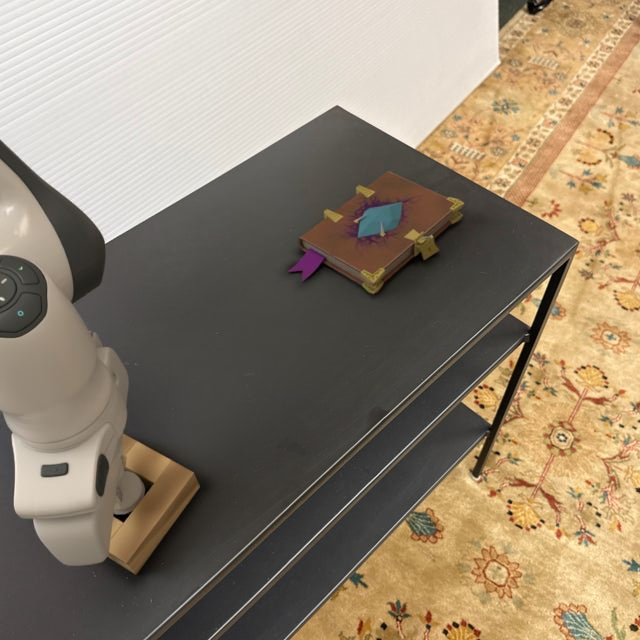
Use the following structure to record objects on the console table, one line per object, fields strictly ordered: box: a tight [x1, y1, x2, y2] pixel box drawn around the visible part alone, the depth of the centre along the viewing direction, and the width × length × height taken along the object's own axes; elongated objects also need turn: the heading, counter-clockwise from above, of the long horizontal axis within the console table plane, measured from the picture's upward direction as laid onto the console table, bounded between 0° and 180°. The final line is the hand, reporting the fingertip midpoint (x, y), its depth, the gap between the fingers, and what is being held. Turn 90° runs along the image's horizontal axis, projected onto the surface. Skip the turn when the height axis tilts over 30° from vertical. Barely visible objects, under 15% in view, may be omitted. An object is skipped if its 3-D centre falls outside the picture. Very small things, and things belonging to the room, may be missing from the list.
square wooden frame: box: [107, 433, 200, 575], centre depth 69 cm, size 11×11×4 cm
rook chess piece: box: [113, 456, 146, 515], centre depth 65 cm, size 4×4×8 cm
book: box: [286, 170, 465, 295], centre depth 92 cm, size 16×25×5 cm, turn 137°
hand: (116, 484), depth 66 cm, fingers closed on rook chess piece, 3 cm apart
